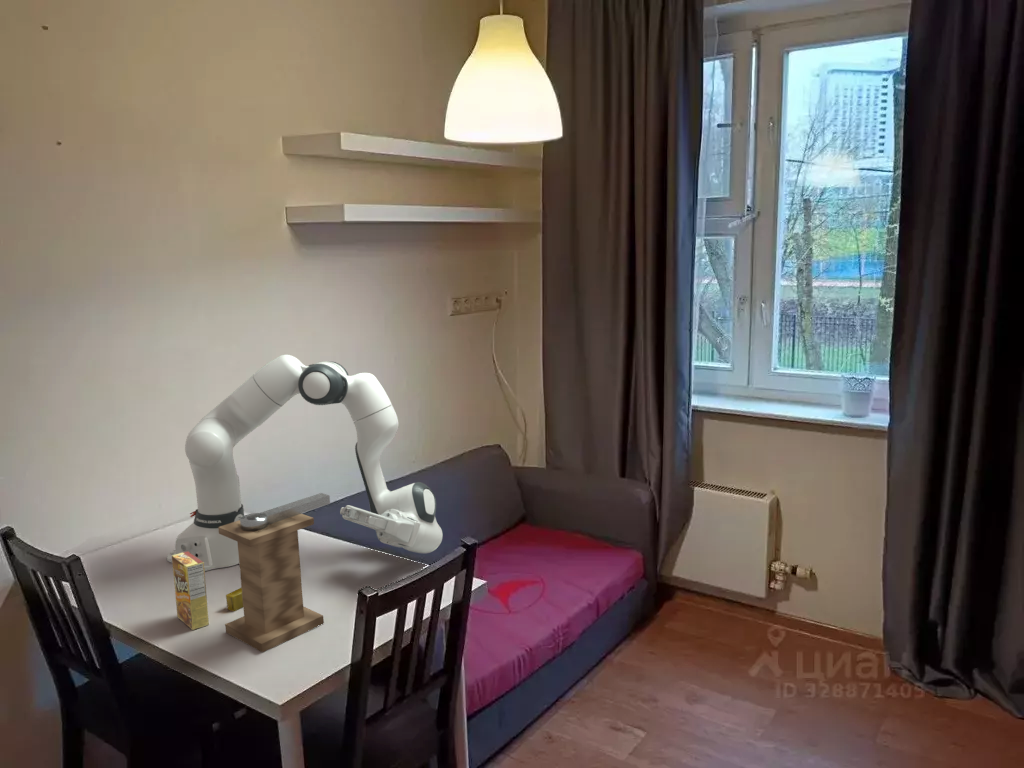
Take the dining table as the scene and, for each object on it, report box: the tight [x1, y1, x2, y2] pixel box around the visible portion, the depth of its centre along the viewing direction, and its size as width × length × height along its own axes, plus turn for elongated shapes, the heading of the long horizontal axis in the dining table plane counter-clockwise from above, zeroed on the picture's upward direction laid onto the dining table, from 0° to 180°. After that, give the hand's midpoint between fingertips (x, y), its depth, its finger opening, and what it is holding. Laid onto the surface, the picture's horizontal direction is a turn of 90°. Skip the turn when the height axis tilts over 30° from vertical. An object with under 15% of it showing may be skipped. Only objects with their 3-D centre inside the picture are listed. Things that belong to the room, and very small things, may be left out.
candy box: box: [171, 551, 210, 631], centre depth 189 cm, size 9×4×15 cm, turn 43°
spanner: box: [240, 492, 331, 531], centre depth 186 cm, size 22×6×2 cm, turn 140°
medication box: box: [225, 587, 243, 612], centre depth 200 cm, size 12×3×4 cm, turn 147°
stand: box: [218, 513, 325, 653], centre depth 184 cm, size 16×14×25 cm
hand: (354, 514), depth 201 cm, fingers open, 8 cm apart
